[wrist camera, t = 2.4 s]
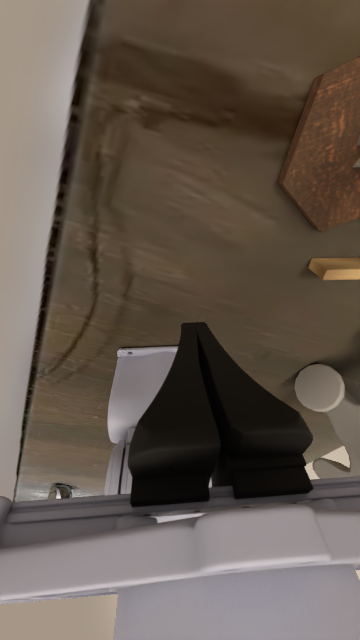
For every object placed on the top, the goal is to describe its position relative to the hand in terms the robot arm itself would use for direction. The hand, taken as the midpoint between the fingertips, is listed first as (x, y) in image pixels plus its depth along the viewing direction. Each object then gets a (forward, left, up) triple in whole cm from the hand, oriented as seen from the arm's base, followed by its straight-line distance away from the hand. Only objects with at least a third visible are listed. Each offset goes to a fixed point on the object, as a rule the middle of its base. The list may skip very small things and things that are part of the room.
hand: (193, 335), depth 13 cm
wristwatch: (-28, -56, -10) cm, 63 cm away
